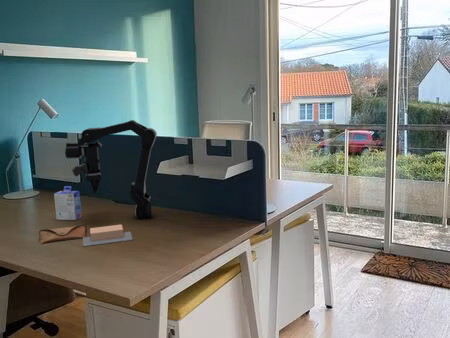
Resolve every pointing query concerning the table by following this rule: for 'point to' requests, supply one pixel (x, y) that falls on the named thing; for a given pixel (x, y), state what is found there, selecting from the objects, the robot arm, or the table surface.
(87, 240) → the mat
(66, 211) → the ink cartridge box
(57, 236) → the sunglasses case
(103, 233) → the beige rectangular block
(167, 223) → the table surface
